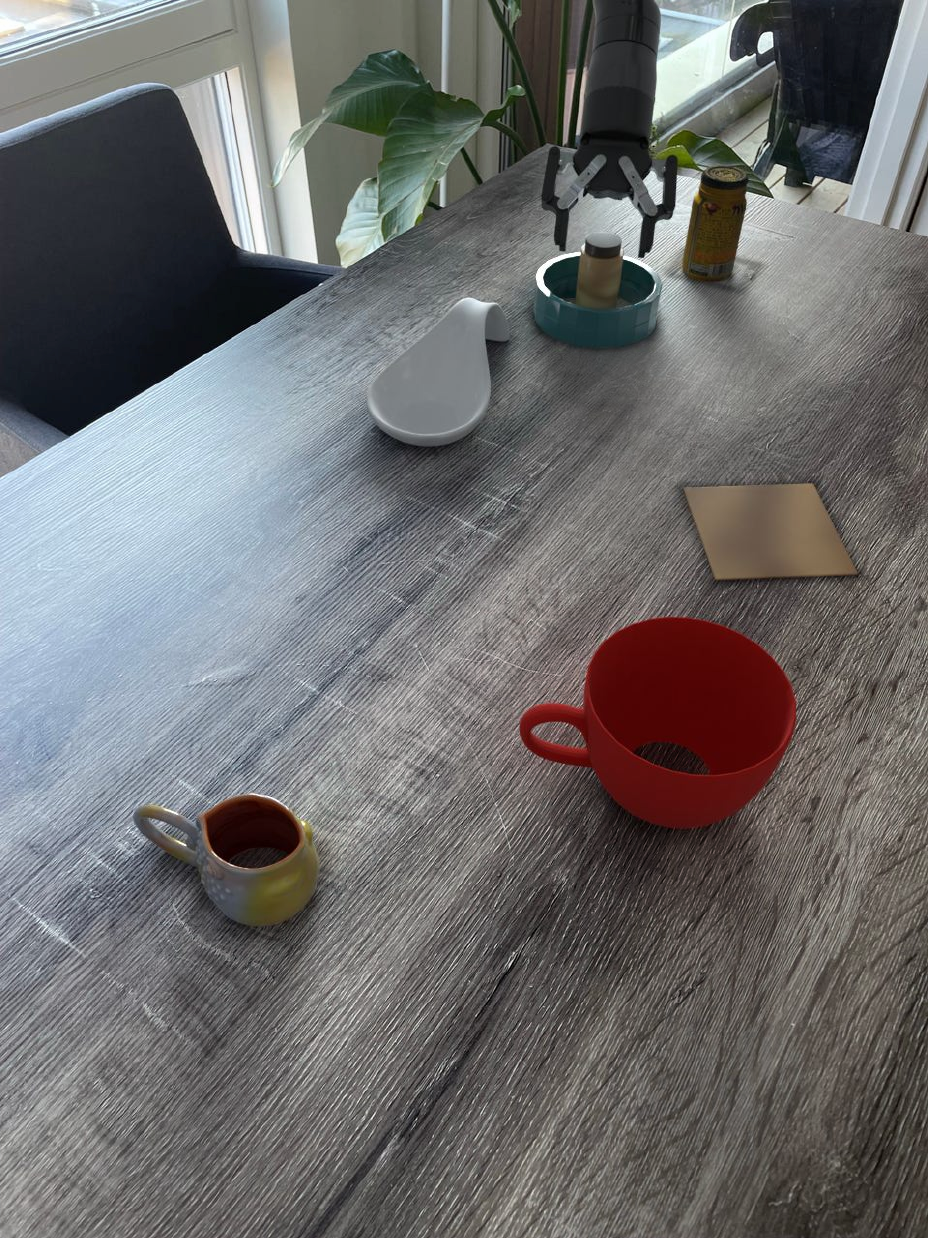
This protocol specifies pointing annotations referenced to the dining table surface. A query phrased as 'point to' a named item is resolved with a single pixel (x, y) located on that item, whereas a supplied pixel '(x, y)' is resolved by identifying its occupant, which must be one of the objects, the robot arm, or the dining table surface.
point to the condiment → (716, 224)
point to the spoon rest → (440, 378)
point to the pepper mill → (600, 271)
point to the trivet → (767, 532)
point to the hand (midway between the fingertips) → (602, 252)
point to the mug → (234, 832)
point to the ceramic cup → (676, 719)
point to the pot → (595, 323)
